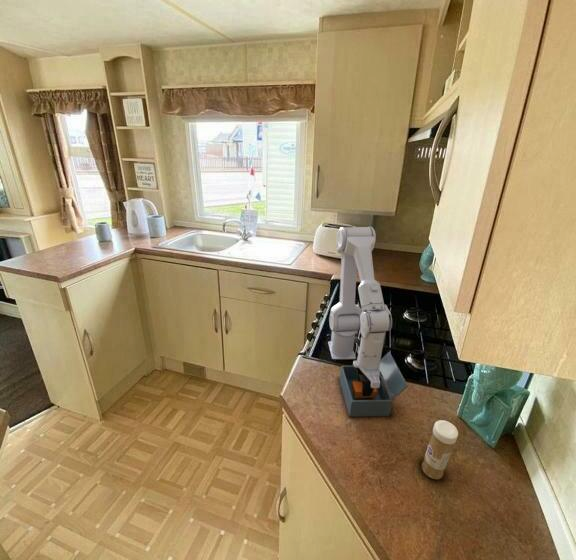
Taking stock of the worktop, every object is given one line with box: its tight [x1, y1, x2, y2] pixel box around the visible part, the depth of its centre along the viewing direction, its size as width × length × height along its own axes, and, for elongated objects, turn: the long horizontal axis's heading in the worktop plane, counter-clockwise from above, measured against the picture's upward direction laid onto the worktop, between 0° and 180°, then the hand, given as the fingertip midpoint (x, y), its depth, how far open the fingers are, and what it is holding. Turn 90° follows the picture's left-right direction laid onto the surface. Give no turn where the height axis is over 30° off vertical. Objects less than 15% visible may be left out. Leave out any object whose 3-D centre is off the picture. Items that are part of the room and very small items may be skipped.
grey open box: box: [339, 365, 394, 418], centre depth 88 cm, size 14×11×5 cm
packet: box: [352, 381, 377, 398], centre depth 88 cm, size 6×4×2 cm, turn 93°
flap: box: [380, 351, 409, 400], centre depth 86 cm, size 14×5×1 cm
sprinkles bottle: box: [421, 419, 459, 480], centre depth 67 cm, size 5×5×14 cm
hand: (364, 388), depth 88 cm, fingers closed on packet, 4 cm apart
